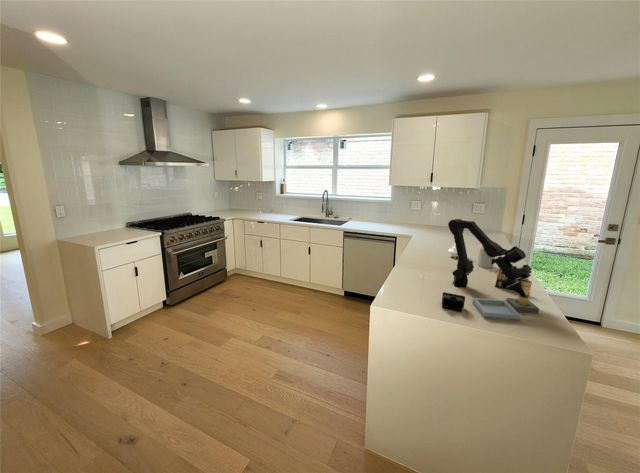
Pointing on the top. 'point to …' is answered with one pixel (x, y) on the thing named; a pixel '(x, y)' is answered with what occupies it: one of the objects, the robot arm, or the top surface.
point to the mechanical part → (453, 251)
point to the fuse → (526, 288)
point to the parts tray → (496, 309)
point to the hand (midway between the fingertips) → (527, 295)
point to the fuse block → (523, 306)
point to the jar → (484, 259)
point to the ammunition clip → (501, 280)
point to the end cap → (453, 302)
